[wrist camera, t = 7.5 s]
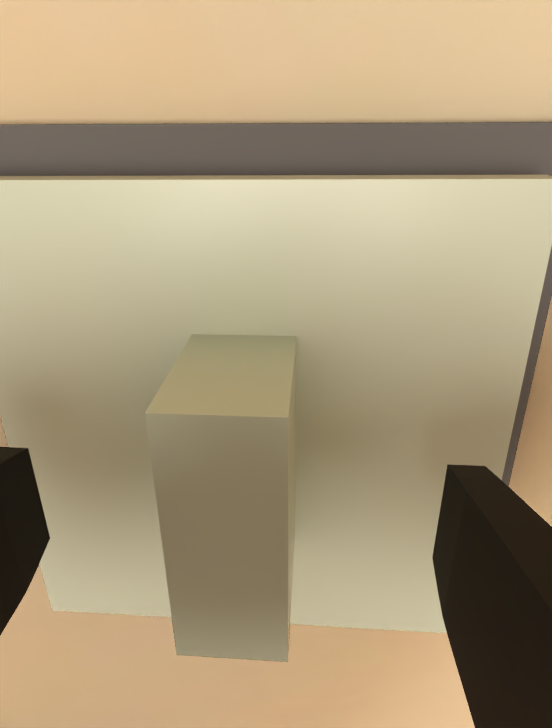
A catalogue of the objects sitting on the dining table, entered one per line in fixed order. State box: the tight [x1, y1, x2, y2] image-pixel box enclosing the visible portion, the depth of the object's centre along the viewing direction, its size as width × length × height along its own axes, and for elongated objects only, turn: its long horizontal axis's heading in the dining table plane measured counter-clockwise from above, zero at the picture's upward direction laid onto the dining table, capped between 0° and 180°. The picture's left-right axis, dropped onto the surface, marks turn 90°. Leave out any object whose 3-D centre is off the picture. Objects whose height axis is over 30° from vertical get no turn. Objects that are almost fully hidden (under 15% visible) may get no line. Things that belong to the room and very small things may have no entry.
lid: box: [0, 175, 552, 662], centre depth 10 cm, size 11×11×4 cm
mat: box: [0, 122, 552, 486], centre depth 12 cm, size 12×12×1 cm
